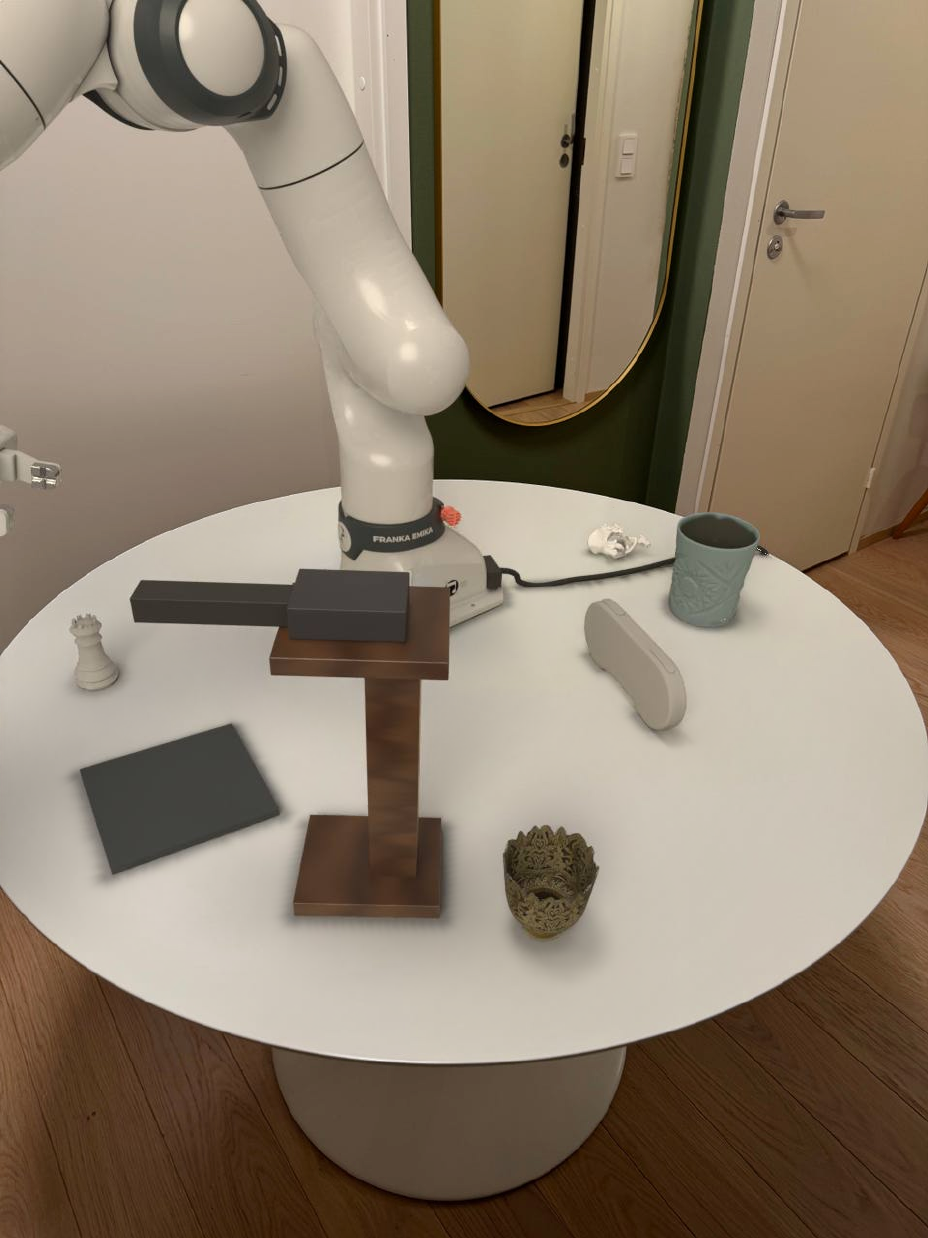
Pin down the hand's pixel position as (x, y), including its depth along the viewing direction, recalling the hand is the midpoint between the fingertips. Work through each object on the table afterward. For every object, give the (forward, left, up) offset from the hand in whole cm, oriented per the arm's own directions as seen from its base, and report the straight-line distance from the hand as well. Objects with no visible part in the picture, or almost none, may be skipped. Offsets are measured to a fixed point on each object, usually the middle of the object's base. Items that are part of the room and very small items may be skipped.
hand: (36, 498), depth 63 cm
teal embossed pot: (-75, -2, -32) cm, 82 cm away
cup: (-28, +29, -32) cm, 52 cm away
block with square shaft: (-13, +14, -6) cm, 20 cm away
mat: (-6, 0, -32) cm, 33 cm away
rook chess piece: (-3, -22, -32) cm, 39 cm away
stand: (-18, +17, -32) cm, 41 cm away
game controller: (-55, +7, -32) cm, 64 cm away
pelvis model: (-75, -20, -32) cm, 84 cm away
